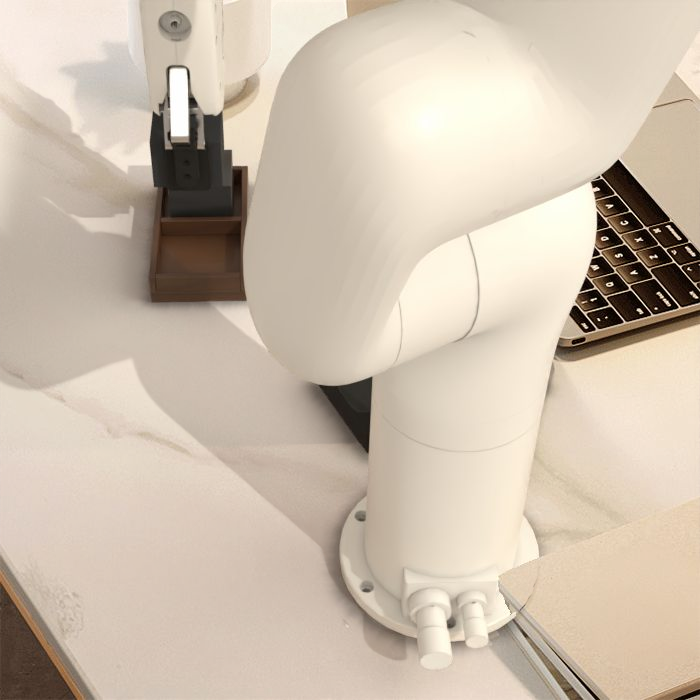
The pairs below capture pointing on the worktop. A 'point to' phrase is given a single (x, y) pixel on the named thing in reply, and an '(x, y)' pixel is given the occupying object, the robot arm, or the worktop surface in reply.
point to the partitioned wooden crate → (201, 240)
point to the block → (212, 134)
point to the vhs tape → (353, 407)
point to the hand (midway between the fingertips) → (190, 162)
